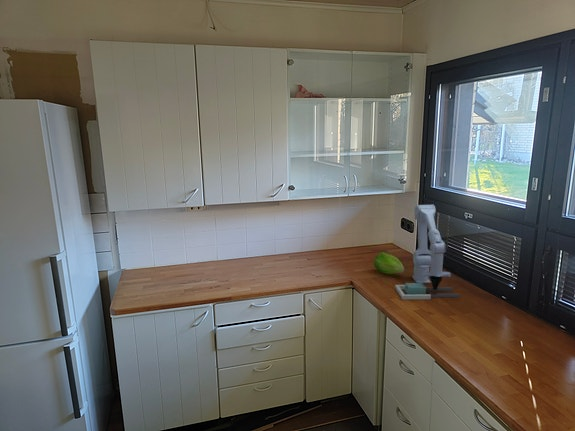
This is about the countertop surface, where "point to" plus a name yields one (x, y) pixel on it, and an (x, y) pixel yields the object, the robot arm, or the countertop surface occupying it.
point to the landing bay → (415, 296)
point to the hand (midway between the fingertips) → (434, 289)
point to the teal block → (415, 288)
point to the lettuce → (388, 264)
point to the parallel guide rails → (442, 293)
